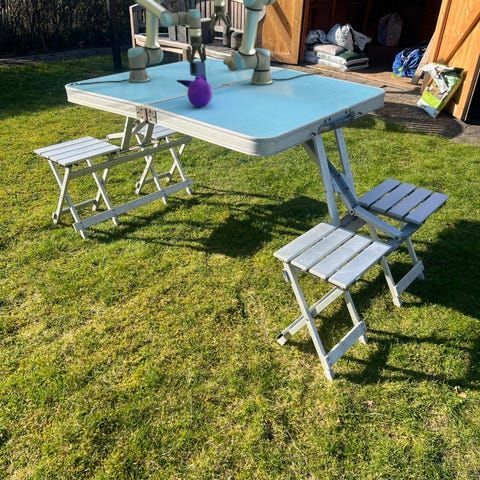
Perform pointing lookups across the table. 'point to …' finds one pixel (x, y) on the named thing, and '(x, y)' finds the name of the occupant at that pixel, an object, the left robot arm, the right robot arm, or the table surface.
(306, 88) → the table surface
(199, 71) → the brick
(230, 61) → the teapot
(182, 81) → the toy
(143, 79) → the left robot arm
